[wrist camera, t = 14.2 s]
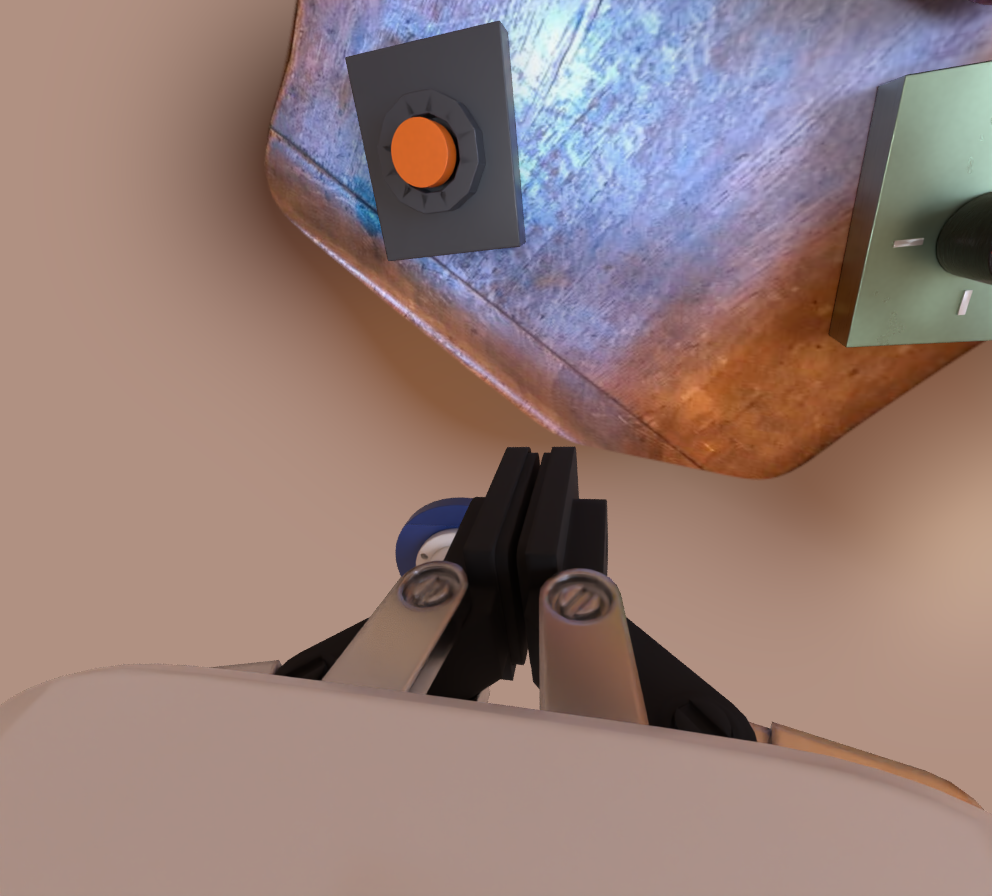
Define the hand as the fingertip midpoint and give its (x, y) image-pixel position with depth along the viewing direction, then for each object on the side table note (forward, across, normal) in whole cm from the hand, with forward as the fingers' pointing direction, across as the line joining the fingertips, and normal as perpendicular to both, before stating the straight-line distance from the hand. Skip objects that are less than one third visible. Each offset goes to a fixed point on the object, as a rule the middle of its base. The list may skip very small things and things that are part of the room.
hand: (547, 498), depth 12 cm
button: (+23, +10, -10) cm, 27 cm away
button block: (+27, +10, -10) cm, 30 cm away
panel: (+27, -21, -3) cm, 34 cm away
